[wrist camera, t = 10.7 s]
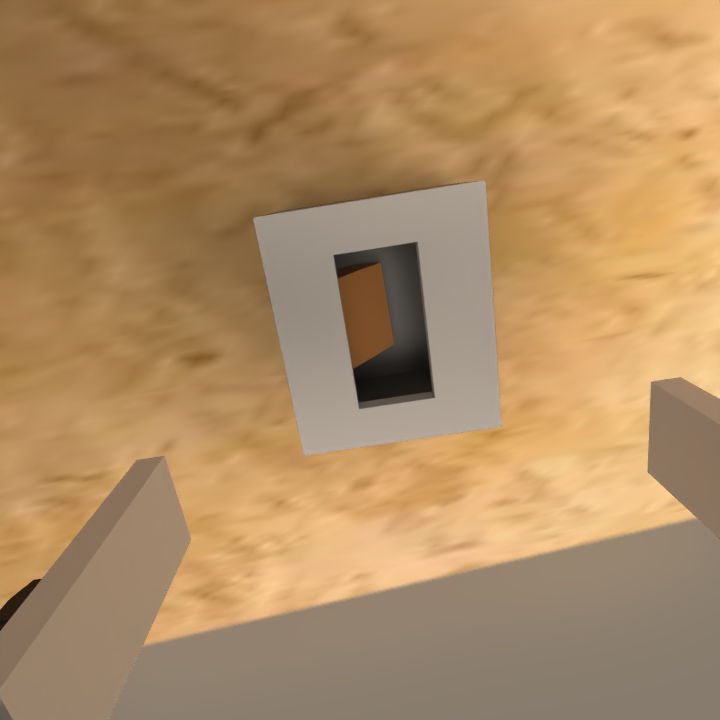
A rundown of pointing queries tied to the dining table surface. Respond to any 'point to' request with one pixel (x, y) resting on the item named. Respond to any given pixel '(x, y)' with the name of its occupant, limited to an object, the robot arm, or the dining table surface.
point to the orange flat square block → (365, 311)
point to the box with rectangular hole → (406, 310)
